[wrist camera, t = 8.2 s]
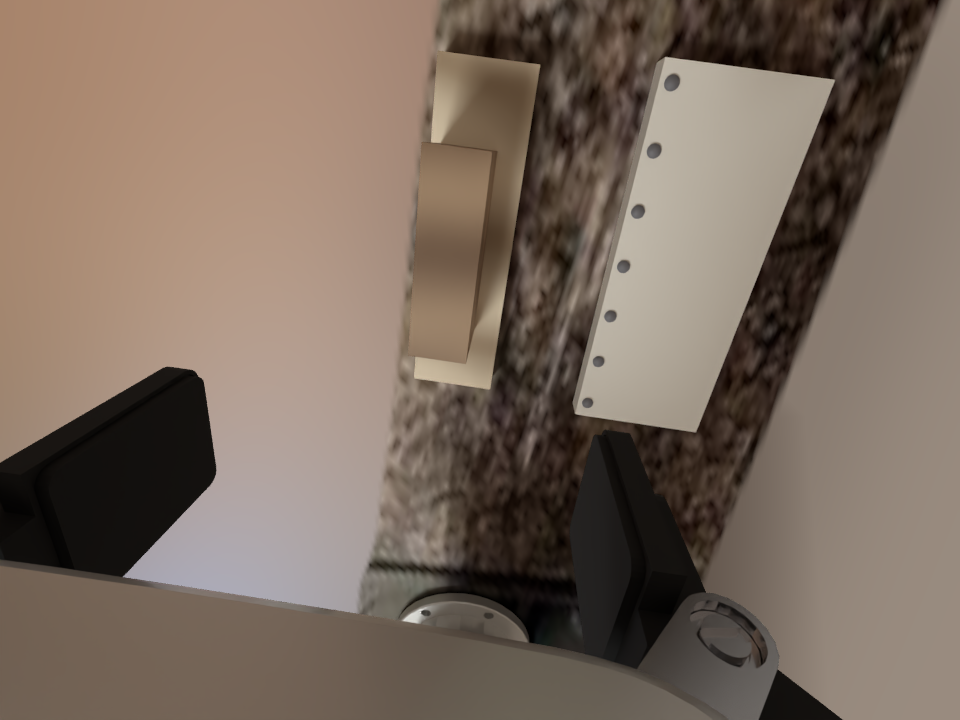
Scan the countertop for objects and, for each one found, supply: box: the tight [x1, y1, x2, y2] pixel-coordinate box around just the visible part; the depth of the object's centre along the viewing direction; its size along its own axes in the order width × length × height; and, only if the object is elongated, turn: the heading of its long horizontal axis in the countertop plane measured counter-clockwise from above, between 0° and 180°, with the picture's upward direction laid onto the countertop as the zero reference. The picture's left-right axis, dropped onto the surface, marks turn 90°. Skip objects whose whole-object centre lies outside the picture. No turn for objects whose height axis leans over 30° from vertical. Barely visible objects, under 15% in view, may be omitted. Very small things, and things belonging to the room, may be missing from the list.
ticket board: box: [573, 57, 835, 432], centre depth 26 cm, size 20×8×2 cm, turn 173°
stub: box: [408, 51, 540, 389], centre depth 24 cm, size 18×5×6 cm, turn 173°
